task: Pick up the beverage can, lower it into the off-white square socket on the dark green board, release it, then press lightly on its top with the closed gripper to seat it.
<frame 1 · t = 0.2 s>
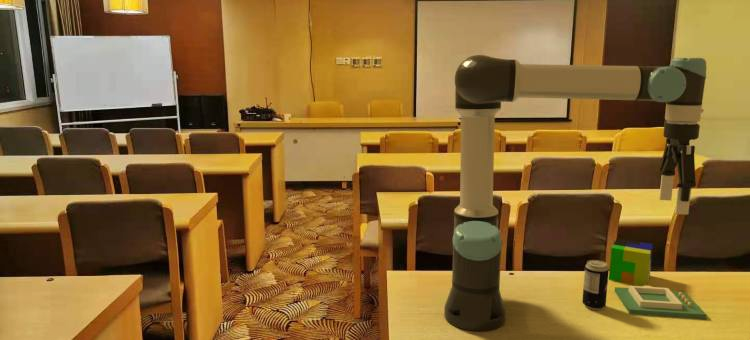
hand: (672, 206, 134), 27 cm above the table, fingers open, 13 cm apart
header board: (657, 304, 142), on the table
beverage can: (593, 307, 141), on the table
puzzle toy: (629, 278, 159), on the table
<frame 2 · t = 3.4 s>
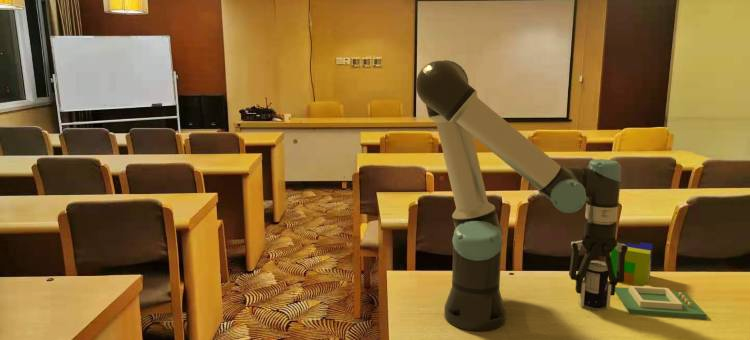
hand: (593, 305, 140), 0 cm above the table, fingers closed on beverage can, 6 cm apart
beverage can: (593, 307, 141), on the table, touching gripper
everything else where it was.
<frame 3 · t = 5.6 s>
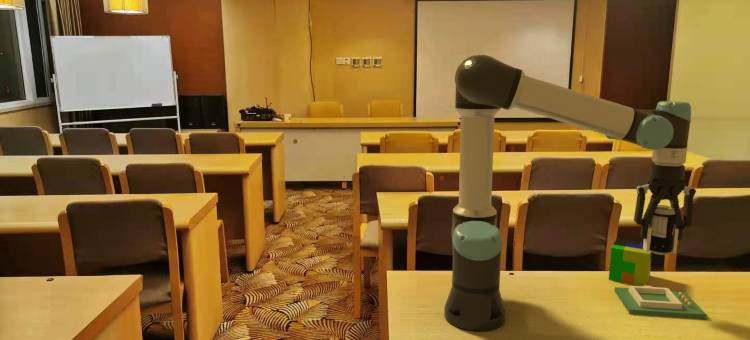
hand: (659, 250, 139), 15 cm above the table, fingers closed on beverage can, 6 cm apart
beverage can: (659, 252, 139), point 14 cm above the table, touching gripper
everything else where it was.
when the fingers open (4 cm above the table, at t = 7.9 s): beverage can drops 2 cm, resting on header board.
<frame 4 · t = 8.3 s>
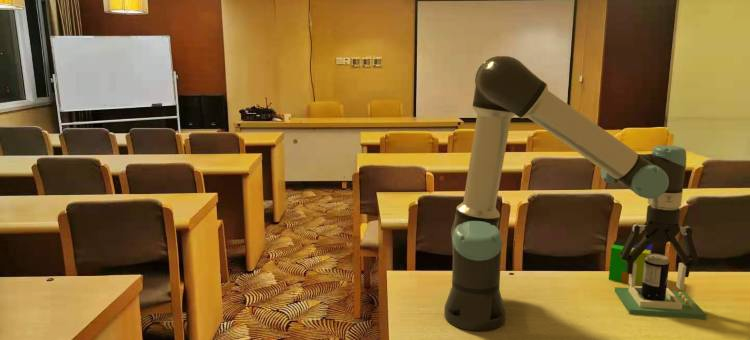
hand: (655, 286, 141), 5 cm above the table, fingers open, 11 cm apart
beverage can: (652, 300, 142), point 1 cm above the table, touching header board
everything else where it was.
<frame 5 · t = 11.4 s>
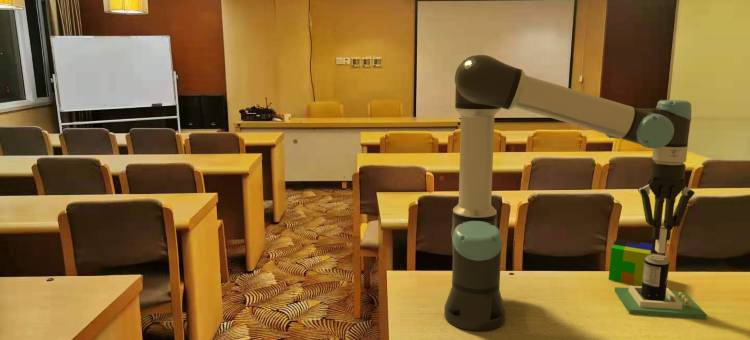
hand: (659, 251, 139), 15 cm above the table, fingers closed
nothing on the table moved.
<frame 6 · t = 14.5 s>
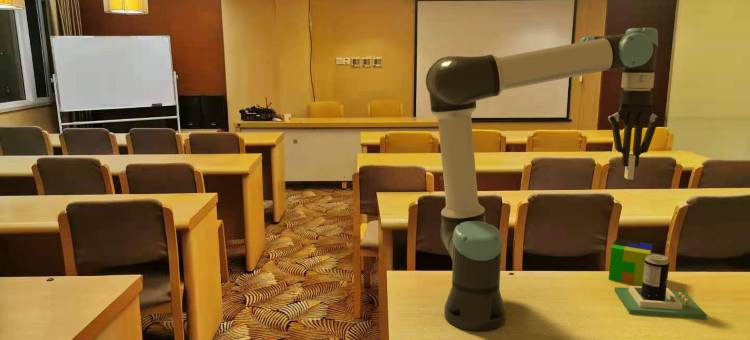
hand: (628, 178, 143), 32 cm above the table, fingers closed
nothing on the table moved.
at the end: beverage can 0.3 cm from the target spot on the header board, point 1.0 cm above the header board's base; beverage can tilted 0°; the gripper is holding nothing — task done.
